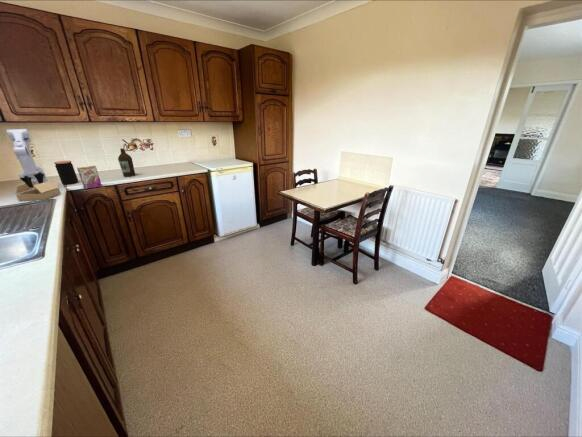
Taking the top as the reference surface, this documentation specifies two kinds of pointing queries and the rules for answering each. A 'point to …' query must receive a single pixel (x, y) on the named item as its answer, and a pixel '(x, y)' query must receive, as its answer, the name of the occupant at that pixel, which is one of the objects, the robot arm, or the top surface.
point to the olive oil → (126, 164)
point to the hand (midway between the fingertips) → (36, 185)
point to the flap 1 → (24, 187)
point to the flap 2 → (45, 186)
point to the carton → (37, 195)
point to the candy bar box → (89, 176)
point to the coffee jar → (66, 172)
